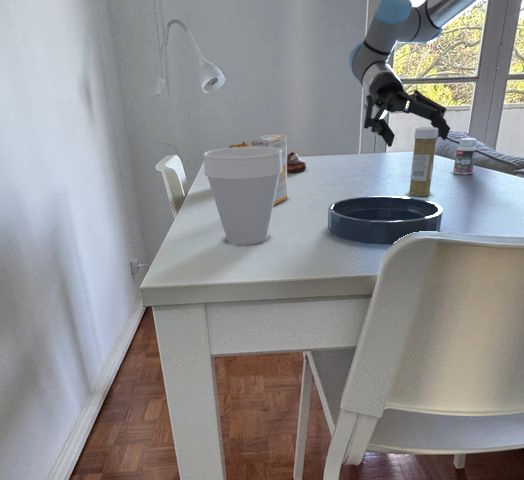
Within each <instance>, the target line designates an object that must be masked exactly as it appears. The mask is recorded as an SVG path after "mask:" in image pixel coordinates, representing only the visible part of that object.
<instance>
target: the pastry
mask: <svg viewBox="0 0 524 480" xmlns="http://www.w3.org/2000/svg"><path fill="white" fill-rule="evenodd" d="M306 169H307V162H306V161H305V160H304V159H301V158H300V156H299V155H298V154H297V153H296V152H295V151H291V152H290V153H287V173H300V172H304V171H306Z"/></svg>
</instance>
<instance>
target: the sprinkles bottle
mask: <svg viewBox="0 0 524 480" xmlns="http://www.w3.org/2000/svg"><path fill="white" fill-rule="evenodd" d="M438 136H439V134H438V128H435V127H433V126H421V127H416V129H415V131H414V147H413V152H412V153H413V154H412V163H411V172H410V183H409V191H408V194H409V195H410V196H413V197H427V196H428V195H430V194H431V183H432V179H433V171H434V161H435V160H434V159H435V153H436V143H437V139H438Z"/></svg>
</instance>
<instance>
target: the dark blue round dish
mask: <svg viewBox="0 0 524 480" xmlns="http://www.w3.org/2000/svg"><path fill="white" fill-rule="evenodd" d="M442 207H443V206H440V205H439V204H437V203H435V202H433V201H429V200H426V199H421V198H415V197H408V196H398V195H397V196H395V195H372V196H358V197H357V196H356V197H349V198H345V199H341V200H337V201H335V202H333V203H331V204H330V205H329V206H328V209H327V229H328V232H329V233H331V235H334V236H336V237H338V238H340V239H344V240H346V241H347V240H348V241H351V242H357V243H361V244H368V245H369V244H370V245H394V244H393V243H394V242H395V241H397V240H398V239H399V238H401V237H403V236H405V235H407V234H410V233H413V232H419V231H438V232H439V233H440V231H441V224H442V218H443V212H444V210H443V208H442Z"/></svg>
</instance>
